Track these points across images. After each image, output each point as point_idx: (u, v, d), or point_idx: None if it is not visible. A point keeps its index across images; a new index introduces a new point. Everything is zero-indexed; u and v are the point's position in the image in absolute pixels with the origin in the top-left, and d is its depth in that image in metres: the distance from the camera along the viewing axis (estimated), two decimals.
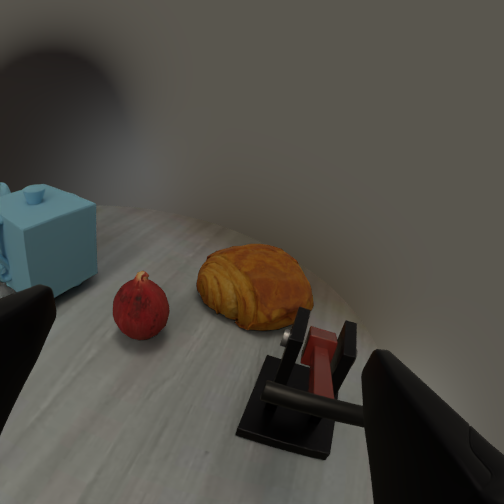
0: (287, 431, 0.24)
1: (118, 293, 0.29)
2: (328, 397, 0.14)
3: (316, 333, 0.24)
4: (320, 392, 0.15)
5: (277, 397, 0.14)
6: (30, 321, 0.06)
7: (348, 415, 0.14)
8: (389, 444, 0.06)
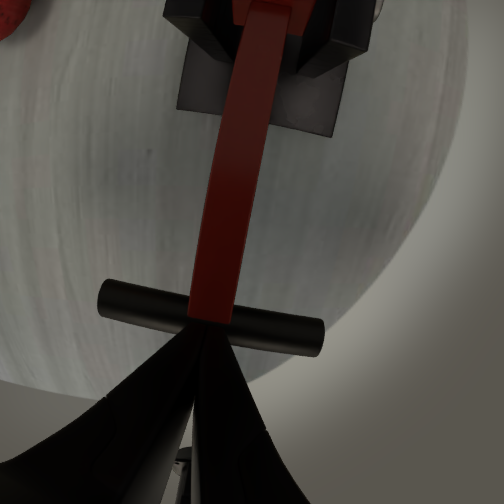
0: None
1: None
2: (216, 321, 0.08)
3: None
4: (201, 306, 0.08)
5: None
6: (197, 368, 0.07)
7: None
8: (193, 431, 0.06)
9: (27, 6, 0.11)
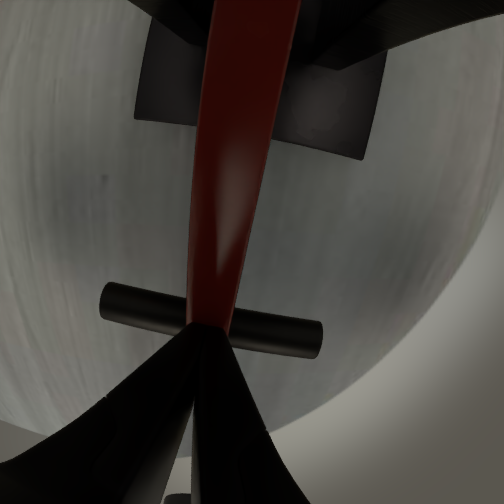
0: None
1: None
2: None
3: None
4: None
5: None
6: (197, 368, 0.07)
7: None
8: (193, 431, 0.06)
9: None
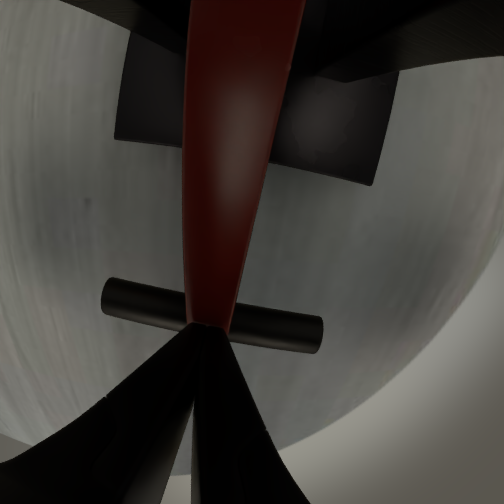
0: None
1: None
2: None
3: None
4: None
5: None
6: (197, 368, 0.07)
7: None
8: (193, 431, 0.06)
9: None
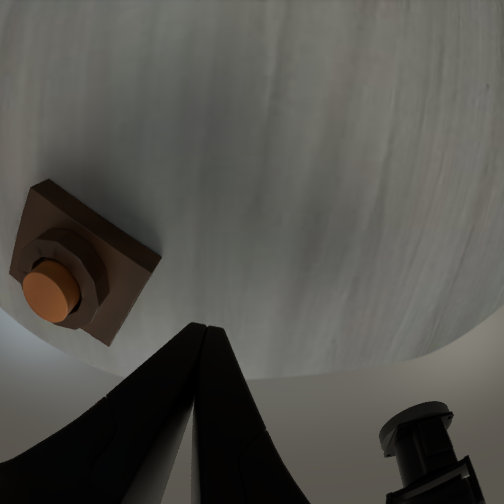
0: None
1: None
2: None
3: None
4: None
5: None
6: (197, 368, 0.07)
7: None
8: (193, 431, 0.06)
9: None
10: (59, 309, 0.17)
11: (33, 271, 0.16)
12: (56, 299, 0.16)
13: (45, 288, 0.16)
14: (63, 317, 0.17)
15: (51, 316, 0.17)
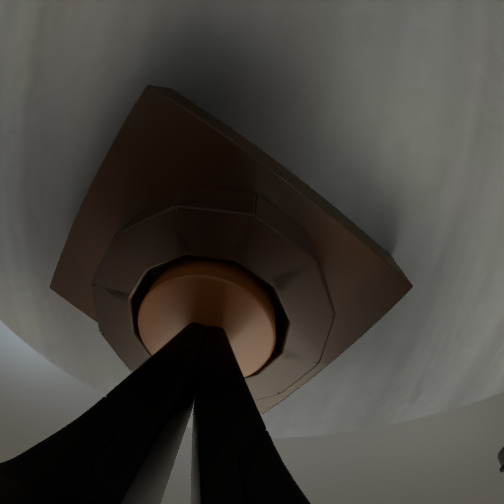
0: None
1: None
2: None
3: None
4: None
5: None
6: (197, 368, 0.07)
7: None
8: (193, 431, 0.06)
9: None
10: (245, 358, 0.08)
11: (188, 273, 0.07)
12: (247, 338, 0.08)
13: (221, 314, 0.08)
14: (249, 373, 0.08)
15: None
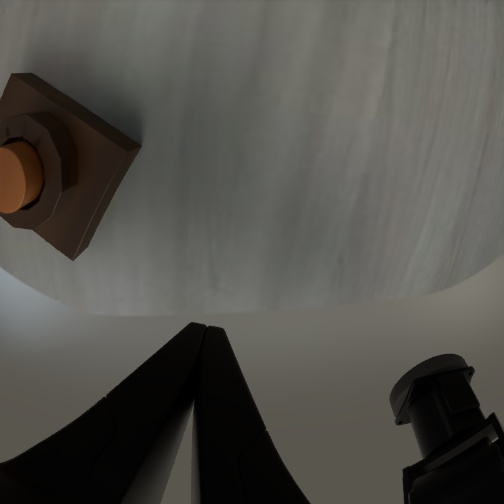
0: None
1: None
2: None
3: None
4: None
5: None
6: (197, 368, 0.07)
7: None
8: (193, 431, 0.06)
9: None
10: (16, 192, 0.13)
11: None
12: (15, 178, 0.12)
13: (5, 165, 0.12)
14: (19, 202, 0.13)
15: (7, 204, 0.13)
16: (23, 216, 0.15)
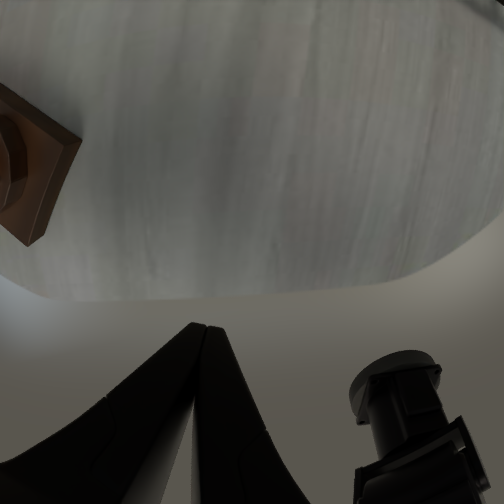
0: None
1: None
2: None
3: None
4: None
5: (497, 0, 0.09)
6: (197, 368, 0.07)
7: None
8: (193, 431, 0.06)
9: None
10: None
11: None
12: None
13: None
14: None
15: None
16: None
